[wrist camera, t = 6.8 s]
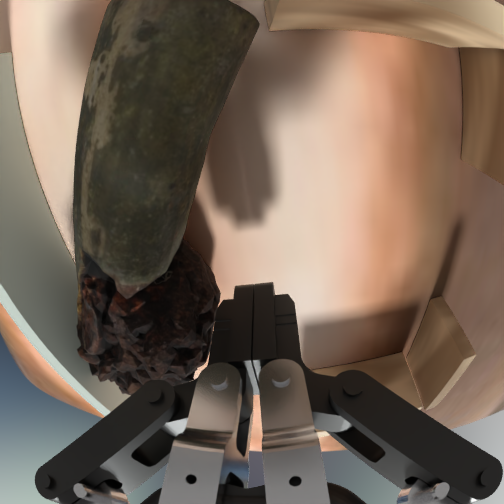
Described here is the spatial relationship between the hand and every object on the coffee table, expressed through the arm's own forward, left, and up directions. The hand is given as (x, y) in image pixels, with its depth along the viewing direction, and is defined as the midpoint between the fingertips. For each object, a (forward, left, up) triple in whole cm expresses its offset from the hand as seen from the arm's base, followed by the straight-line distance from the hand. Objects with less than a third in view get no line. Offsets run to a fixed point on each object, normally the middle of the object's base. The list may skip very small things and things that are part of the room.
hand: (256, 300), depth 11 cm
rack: (+11, 0, -3) cm, 11 cm away
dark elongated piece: (+4, -3, -3) cm, 5 cm away
